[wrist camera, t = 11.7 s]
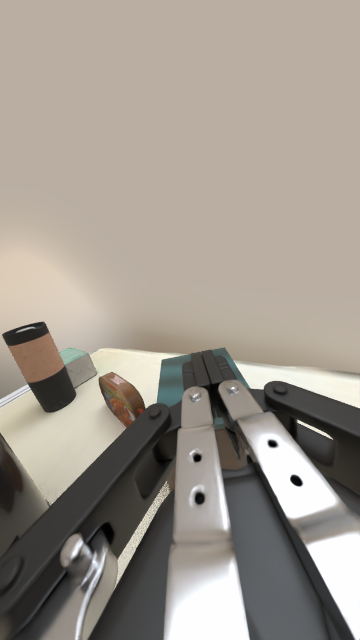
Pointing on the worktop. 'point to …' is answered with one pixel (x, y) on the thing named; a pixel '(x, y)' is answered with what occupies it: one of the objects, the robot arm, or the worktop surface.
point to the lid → (173, 380)
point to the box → (78, 365)
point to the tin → (121, 398)
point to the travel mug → (41, 365)
